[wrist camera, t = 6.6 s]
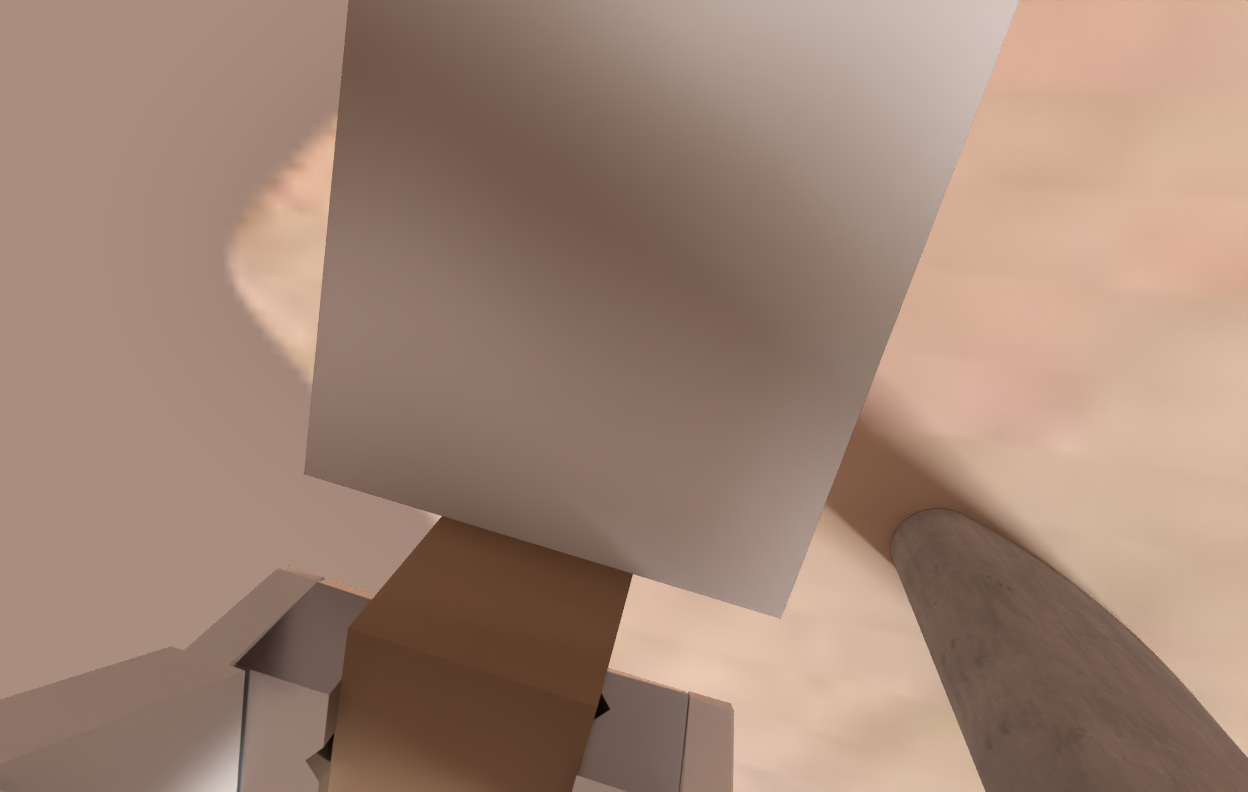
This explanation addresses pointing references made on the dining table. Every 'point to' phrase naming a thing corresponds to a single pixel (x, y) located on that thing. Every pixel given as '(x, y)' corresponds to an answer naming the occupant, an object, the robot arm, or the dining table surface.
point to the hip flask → (1051, 673)
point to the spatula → (605, 329)
